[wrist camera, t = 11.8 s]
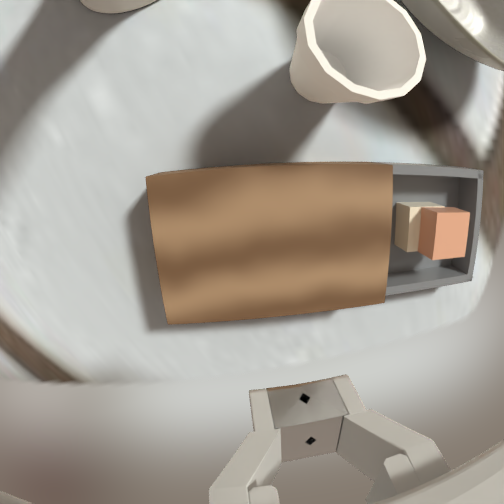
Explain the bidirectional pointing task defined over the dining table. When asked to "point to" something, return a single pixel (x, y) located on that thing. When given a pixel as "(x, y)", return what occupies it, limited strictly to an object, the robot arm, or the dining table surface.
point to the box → (443, 193)
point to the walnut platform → (271, 238)
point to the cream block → (409, 224)
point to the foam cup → (356, 52)
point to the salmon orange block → (443, 232)
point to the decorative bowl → (465, 26)
